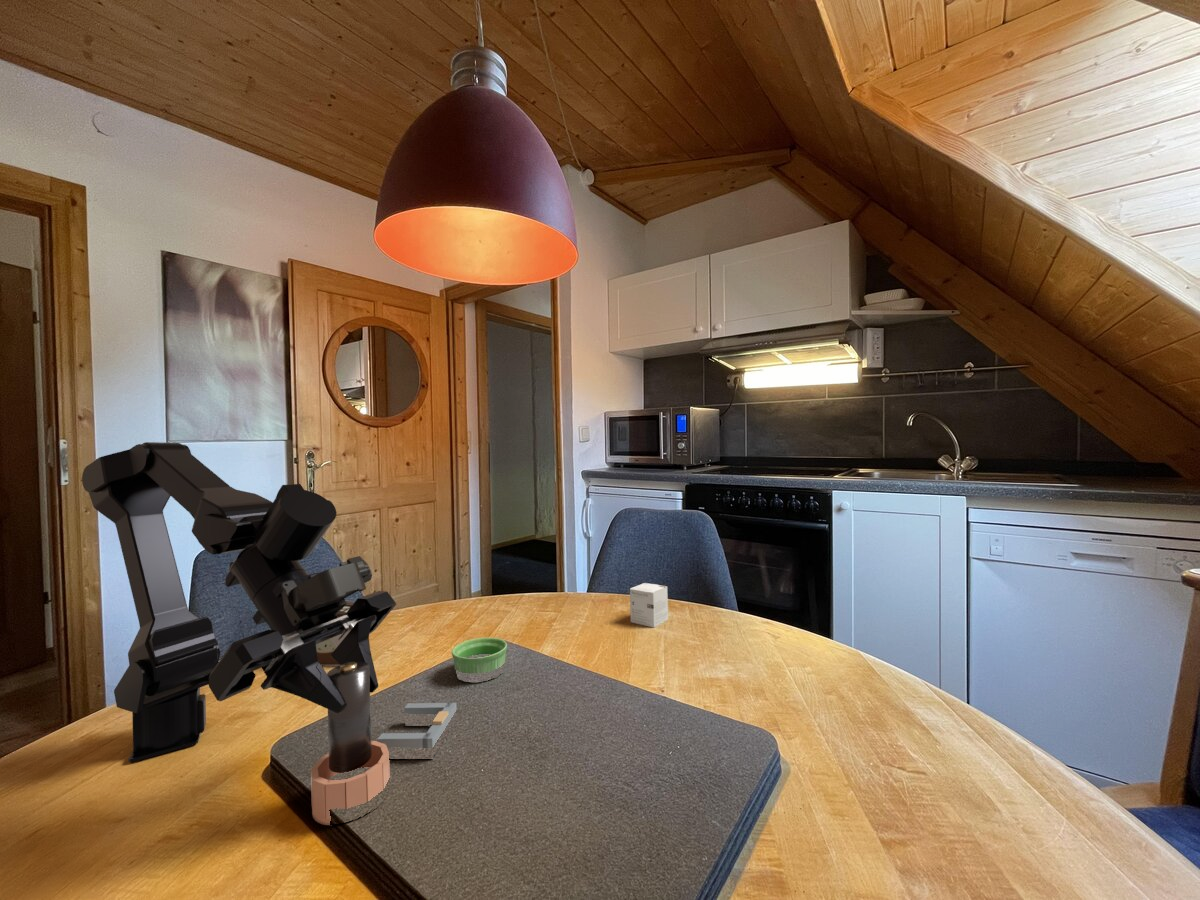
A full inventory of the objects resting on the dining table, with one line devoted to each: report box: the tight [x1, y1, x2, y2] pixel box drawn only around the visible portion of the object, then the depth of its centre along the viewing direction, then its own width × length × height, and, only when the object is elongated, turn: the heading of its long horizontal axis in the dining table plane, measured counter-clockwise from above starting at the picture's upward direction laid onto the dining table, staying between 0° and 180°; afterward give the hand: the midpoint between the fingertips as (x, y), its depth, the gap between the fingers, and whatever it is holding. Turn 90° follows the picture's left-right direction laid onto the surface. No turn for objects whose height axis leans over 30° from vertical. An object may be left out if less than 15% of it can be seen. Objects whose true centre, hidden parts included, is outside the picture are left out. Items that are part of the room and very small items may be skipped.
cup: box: [310, 740, 391, 826], centre depth 51 cm, size 7×7×4 cm
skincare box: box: [629, 582, 669, 628], centre depth 103 cm, size 6×6×7 cm
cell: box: [326, 662, 372, 773], centre depth 51 cm, size 4×4×10 cm
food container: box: [316, 599, 356, 667], centre depth 89 cm, size 12×6×10 cm, turn 84°
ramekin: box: [451, 637, 508, 674], centre depth 81 cm, size 9×9×4 cm
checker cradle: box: [376, 702, 458, 748], centre depth 61 cm, size 7×8×3 cm
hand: (359, 699), depth 51 cm, fingers closed on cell, 4 cm apart
